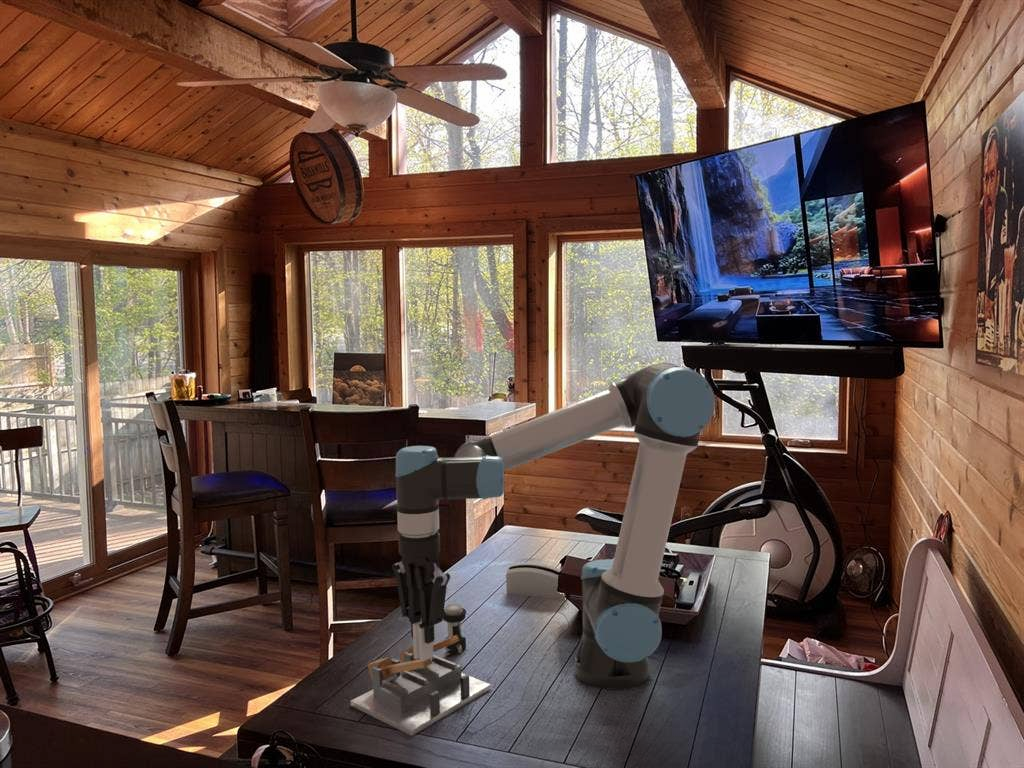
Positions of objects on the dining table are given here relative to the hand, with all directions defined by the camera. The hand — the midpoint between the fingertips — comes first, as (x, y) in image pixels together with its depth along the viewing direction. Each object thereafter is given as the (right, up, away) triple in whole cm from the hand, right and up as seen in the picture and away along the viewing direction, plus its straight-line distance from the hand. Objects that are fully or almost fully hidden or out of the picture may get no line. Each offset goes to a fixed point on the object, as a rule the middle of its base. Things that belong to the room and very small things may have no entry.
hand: (423, 657), depth 141 cm
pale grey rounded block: (+23, -5, +59) cm, 64 cm away
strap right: (+1, -4, +11) cm, 11 cm away
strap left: (-5, -5, +4) cm, 8 cm away
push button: (+3, -9, +27) cm, 28 cm away
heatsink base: (-1, -10, +8) cm, 13 cm away
